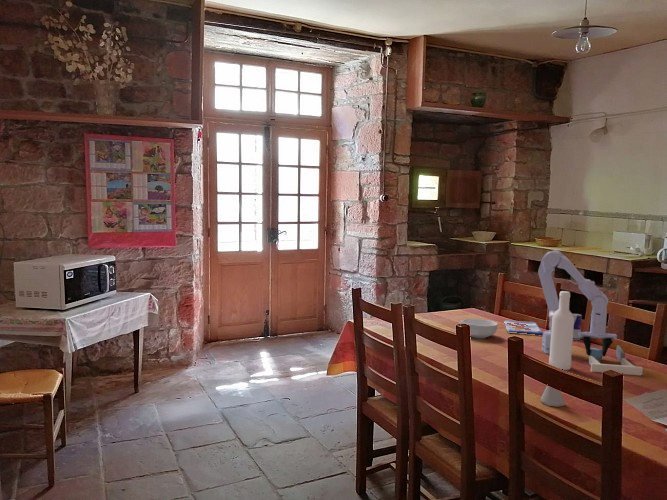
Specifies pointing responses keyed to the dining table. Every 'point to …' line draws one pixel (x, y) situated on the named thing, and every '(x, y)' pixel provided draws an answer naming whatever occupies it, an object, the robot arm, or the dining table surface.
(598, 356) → the light blue block
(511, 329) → the blue white book
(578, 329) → the energy drink
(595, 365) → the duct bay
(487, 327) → the cereal bowl
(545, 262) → the robot arm
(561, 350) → the bottle
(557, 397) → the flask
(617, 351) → the duct cover
